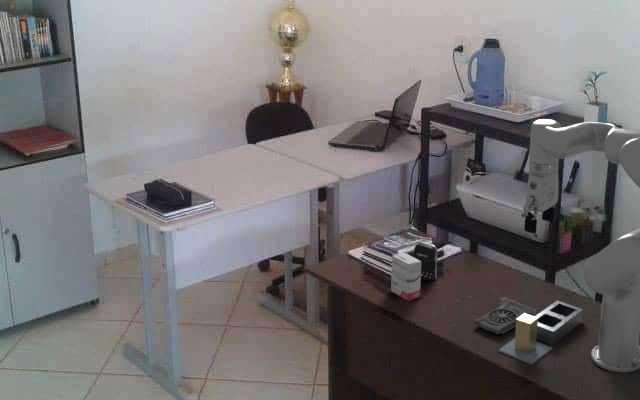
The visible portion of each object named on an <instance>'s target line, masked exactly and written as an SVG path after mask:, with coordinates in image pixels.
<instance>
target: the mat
mask: <svg viewBox="0 0 640 400" xmlns="http://www.w3.org/2000/svg"><path fill="white" fill-rule="evenodd" d="M552 350H553V347H552V346H549V345H546V344H544V343H541V342H539V341H536V348H535V349H534V350H533V351H532V352H530V353H529V354H526V353H524V352H521V351H518V350H516V349H515V337H513V339H512V340H510V341H509V342H507V343H506V344H505V345H503V346H502V347H501V348H499V349H498V352H499V353H501V354H504V355H506V356H509V357H512V358H514V359H516V360H519V361H522V362H524V363H527V364H529V365H531V366H532V365H534V364H535V363H536V362H537V361H539V360H540V359H541V358H543V357H544V356H545V355H546V354H548V353H549V352H551V351H552Z"/></svg>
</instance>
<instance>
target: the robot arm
mask: <svg viewBox="0 0 640 400" xmlns="http://www.w3.org/2000/svg"><path fill="white" fill-rule="evenodd" d="M529 143H530V144H529V155H528V156H529V158H528V159H529V160H528V173H529V174H528V180H527V186H526V193H525V194H526V195H525V203H524V205H523V207H522V209H523V211H522V212H523V216H524V217H523V218H524V227H523V228H524V232H526V233H530V234H534V235H535V234H536V233H537V223H538V219H537V216H538V214H539V213H541V220H543V221H546V222H549V223H553V222H554V220H555V207H556V206H557V205H556V204H557V203H558V201H559V185H560V182H559V162H560V159H561V160H562V159H563V160H564V159H567V158H571V157H574V156H577V155H580V154H583V153H587V152H602V153H604V155H605V157H606V159H607V161H608V162H610V163H612V164H614V165H621V167H622V169H623V170H624V172H625V173H626V174H627V177H629V179H631V180H632V182H633V183H634V184H635V185H636V186H637V187H638V188H639V189H640V129H637V128H636V129H634V128H633V129H632V128H622V127H619V126H617V125H615V124H612V123H608V122H607V123H606V122H595V121H593V122H592V121H585V122H580V123H575V124H572V125H568V126H565V127H562V125H561V124H560V122H558V120H554V119H549V118H542V119H537V120H535V121H533V122H532V124H531V127H530V140H529ZM531 211H532V212H533V213H532V212H531ZM583 279H584V281H585V284H586V286H587V287H588V288H589V289H590V291H592V292H594V293H596V294H599V295H602V302H601V310H600V311H601V314H600V322H599V334H598V342H597V343H598V344H597V345H596V346H594V347H593V348H592V349H591V352H590V358H591V360H592V362H593V363H594V364H595V365H597V366H598V367H600V368H602V369H604V370H607V371H610V372H614V373H630V372H631V373H632V372H634V371H637V370H639V369H640V345H639V341H640V228H638V229H636V230H633V231H630V232H628V233H626V234H623V235H622V236H620V237H618V238H616V239H615V240H614V241H612V242H611V243H609V244H608V245H607V246H606V247H604V248H602V249H601V250H600V251H598V253H596V254H595V255H594V256H592V257H591V258H590V259H589V260H588V261H587V263H586V265H584V271H583Z"/></svg>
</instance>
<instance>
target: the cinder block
mask: <svg viewBox="0 0 640 400" xmlns="http://www.w3.org/2000/svg"><path fill="white" fill-rule="evenodd" d="M583 314H584V309H583V308H580V307H578V306H574V305H572V304H569V303H565V302H563V301H560V300H555V302H553V303H552V304H550V305H549V306H547V307H546V308H545V309H543V310H542V311H540V312H539V313H537V314H536V316H535V317H537V318H538V325H537V340H539V341H542V342H544V343H547V344H550V345H554V344H556V343H557V342H558V341H560V340H561V339H562V338H563V337H565V336H566V335H567V334H569V333H570V332H571V331H573V330H574V329H575V328H577V327H578V326H579V325H580V324H582V323H583V318H584V317H583V316H584V315H583Z"/></svg>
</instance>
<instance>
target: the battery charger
mask: <svg viewBox="0 0 640 400" xmlns="http://www.w3.org/2000/svg"><path fill="white" fill-rule="evenodd" d="M413 250H414V251H413V257H414V258H416V259H418V260H419V261H421V280H424V281H425V280H426V281H430V282H432V281H434V280H436V279H437V278H438V248H437V245H435V244H432V243H430V242H426V241H420V242H418V243H417V244H416V245H414V249H413Z"/></svg>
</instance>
